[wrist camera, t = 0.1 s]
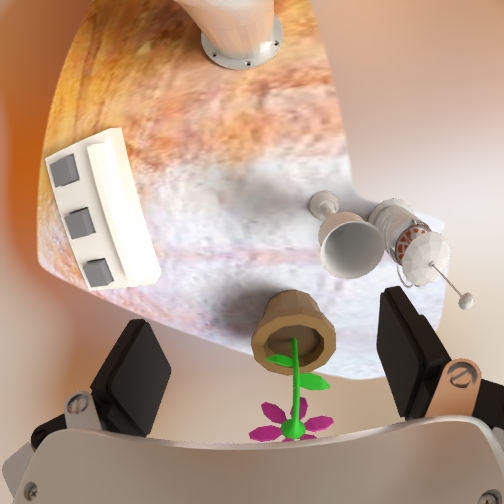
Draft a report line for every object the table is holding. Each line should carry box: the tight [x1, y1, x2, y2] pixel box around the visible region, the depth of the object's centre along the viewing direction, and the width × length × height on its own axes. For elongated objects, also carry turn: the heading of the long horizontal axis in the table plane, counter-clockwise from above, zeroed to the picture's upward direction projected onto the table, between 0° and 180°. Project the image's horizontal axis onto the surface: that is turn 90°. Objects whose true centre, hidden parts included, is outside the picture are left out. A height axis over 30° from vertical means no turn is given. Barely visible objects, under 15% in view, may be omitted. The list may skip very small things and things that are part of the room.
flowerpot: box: [249, 290, 336, 442], centre depth 41 cm, size 14×14×30 cm
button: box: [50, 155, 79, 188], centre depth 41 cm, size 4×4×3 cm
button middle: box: [64, 208, 95, 240], centre depth 44 cm, size 4×4×3 cm
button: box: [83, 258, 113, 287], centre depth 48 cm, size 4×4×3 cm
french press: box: [368, 198, 474, 310], centre depth 35 cm, size 10×12×25 cm
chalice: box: [310, 191, 385, 279], centre depth 37 cm, size 7×7×18 cm
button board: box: [45, 128, 162, 291], centre depth 45 cm, size 28×16×8 cm, turn 11°
